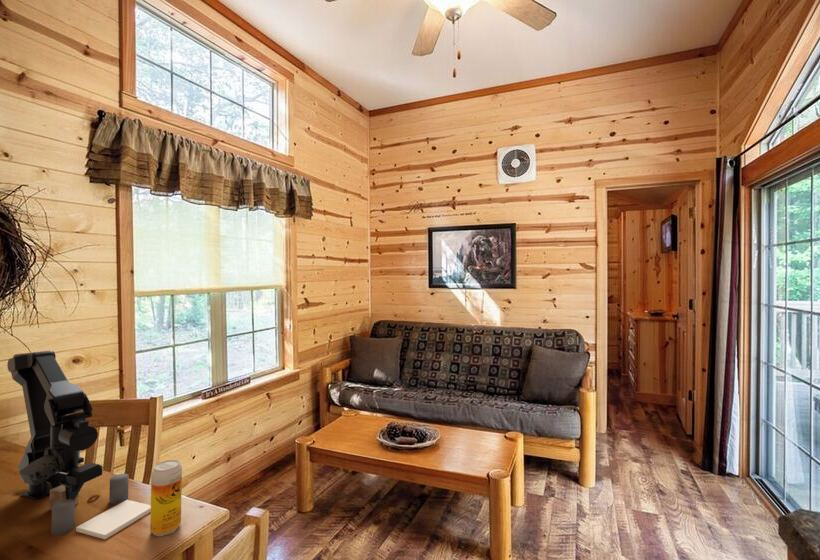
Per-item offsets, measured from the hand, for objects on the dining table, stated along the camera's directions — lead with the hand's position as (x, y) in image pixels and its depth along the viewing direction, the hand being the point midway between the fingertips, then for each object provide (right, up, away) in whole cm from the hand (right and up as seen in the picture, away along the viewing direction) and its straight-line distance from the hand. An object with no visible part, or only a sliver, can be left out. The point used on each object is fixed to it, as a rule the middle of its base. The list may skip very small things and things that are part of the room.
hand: (64, 502), depth 100 cm
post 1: (+8, -1, -9) cm, 12 cm away
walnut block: (0, -1, 0) cm, 1 cm away
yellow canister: (+31, -2, -8) cm, 32 cm away
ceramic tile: (+17, -1, -5) cm, 18 cm away
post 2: (+11, -1, +3) cm, 12 cm away
